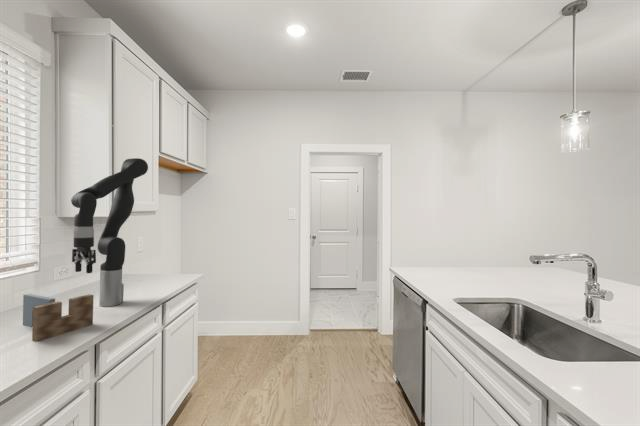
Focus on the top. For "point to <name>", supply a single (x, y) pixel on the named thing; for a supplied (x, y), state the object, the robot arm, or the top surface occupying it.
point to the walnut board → (61, 317)
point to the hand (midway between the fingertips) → (83, 272)
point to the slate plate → (28, 305)
